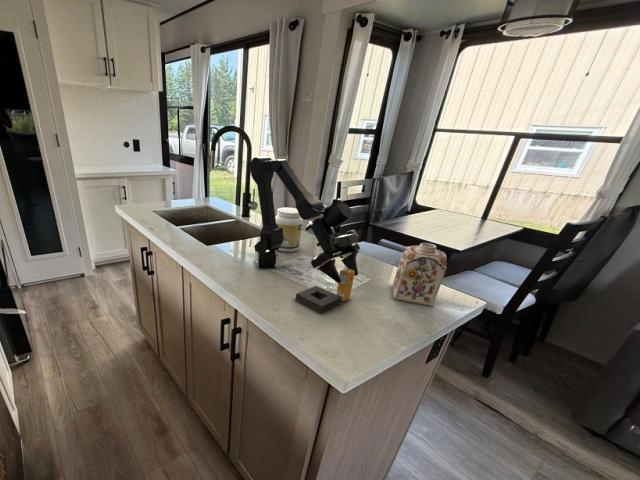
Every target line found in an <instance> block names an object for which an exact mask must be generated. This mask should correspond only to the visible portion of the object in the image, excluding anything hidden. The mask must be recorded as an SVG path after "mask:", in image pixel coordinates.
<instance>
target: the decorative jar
mask: <svg viewBox="0 0 640 480" xmlns="http://www.w3.org/2000/svg"><path fill="white" fill-rule="evenodd" d="M447 257H448V256H447V254H446V253H445V252H444V251H442V250H440V249H437V245H436V244H433V243H429V242H421V243H420V244H419V245H410V246H409V245H408V246H406V248H404V249H403V250H402V253H401V256H400V260H399V263H398V265H397V269H396V272H395V276H394V278H393V283H392V290H393V299H395V300H397V301H398V300H399V301H403V302H408V303H413V304H417V305H424V306H428V307H432V306H433V305H434V303H435V302H436V301H435V300H436V298H437V296H438V293H439V291H440V288H441V285H442V282H443V279H444V276H445V274H446V271H447V268H448V267H447V266H448V262H447V260H448V259H447Z"/></svg>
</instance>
